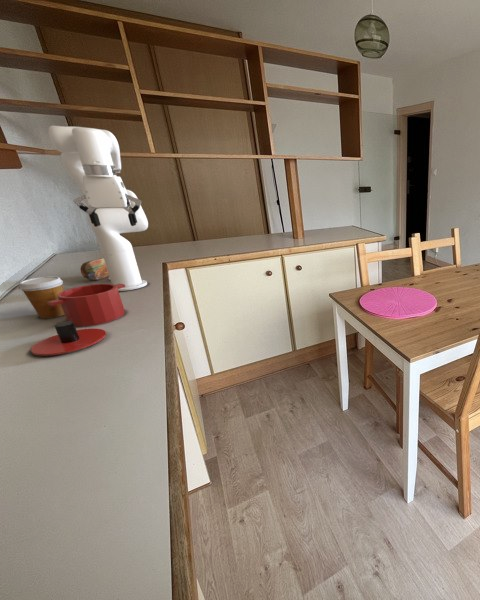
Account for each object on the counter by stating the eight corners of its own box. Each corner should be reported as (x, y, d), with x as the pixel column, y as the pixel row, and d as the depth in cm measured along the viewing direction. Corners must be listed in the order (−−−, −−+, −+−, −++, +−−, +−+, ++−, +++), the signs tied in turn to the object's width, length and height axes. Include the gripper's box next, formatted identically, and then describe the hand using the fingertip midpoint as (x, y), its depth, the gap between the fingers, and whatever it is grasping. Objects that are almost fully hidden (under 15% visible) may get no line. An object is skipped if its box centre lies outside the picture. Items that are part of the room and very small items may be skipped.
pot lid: (19, 351, 82) (9, 330, 80) (87, 328, 95) (80, 310, 93) (53, 362, 78) (43, 340, 75) (119, 336, 90) (112, 317, 88)
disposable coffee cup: (32, 314, 103) (17, 279, 99) (73, 307, 110) (60, 274, 105) (32, 323, 97) (16, 286, 93) (75, 314, 104) (62, 280, 99)
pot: (46, 325, 96) (34, 297, 92) (116, 304, 113) (108, 279, 109) (74, 333, 92) (62, 303, 88) (142, 310, 108) (135, 284, 105)
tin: (90, 282, 134) (83, 263, 131) (82, 282, 134) (75, 263, 131) (119, 272, 148) (114, 255, 145) (113, 272, 148) (107, 255, 145)
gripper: (137, 172, 106) (150, 223, 113) (69, 170, 99) (87, 224, 106) (130, 172, 100) (144, 226, 107) (57, 170, 93) (77, 228, 100)
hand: (116, 225), depth 106 cm, fingers open, 9 cm apart
